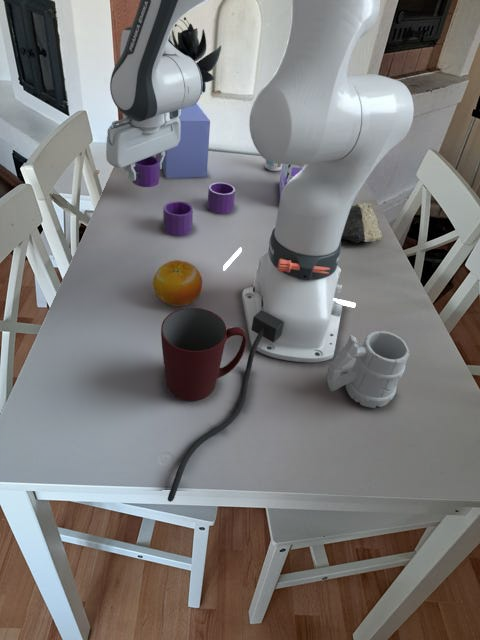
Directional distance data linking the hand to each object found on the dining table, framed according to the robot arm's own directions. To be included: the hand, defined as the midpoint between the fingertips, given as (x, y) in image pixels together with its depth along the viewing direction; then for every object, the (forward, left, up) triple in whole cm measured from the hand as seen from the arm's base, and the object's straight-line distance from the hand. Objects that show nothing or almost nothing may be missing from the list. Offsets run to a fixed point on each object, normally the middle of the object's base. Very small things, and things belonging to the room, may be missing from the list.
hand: (145, 174), depth 109 cm
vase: (+19, -6, -6) cm, 21 cm away
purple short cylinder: (0, -18, -6) cm, 19 cm away
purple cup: (0, 0, -2) cm, 2 cm away
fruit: (-36, -14, -6) cm, 39 cm away
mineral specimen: (-5, -47, -6) cm, 48 cm away
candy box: (+11, -35, -6) cm, 37 cm away
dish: (-12, -10, -6) cm, 17 cm away
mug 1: (-55, -21, -6) cm, 59 cm away
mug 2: (-53, -45, -6) cm, 70 cm away
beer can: (+27, -30, -6) cm, 41 cm away
